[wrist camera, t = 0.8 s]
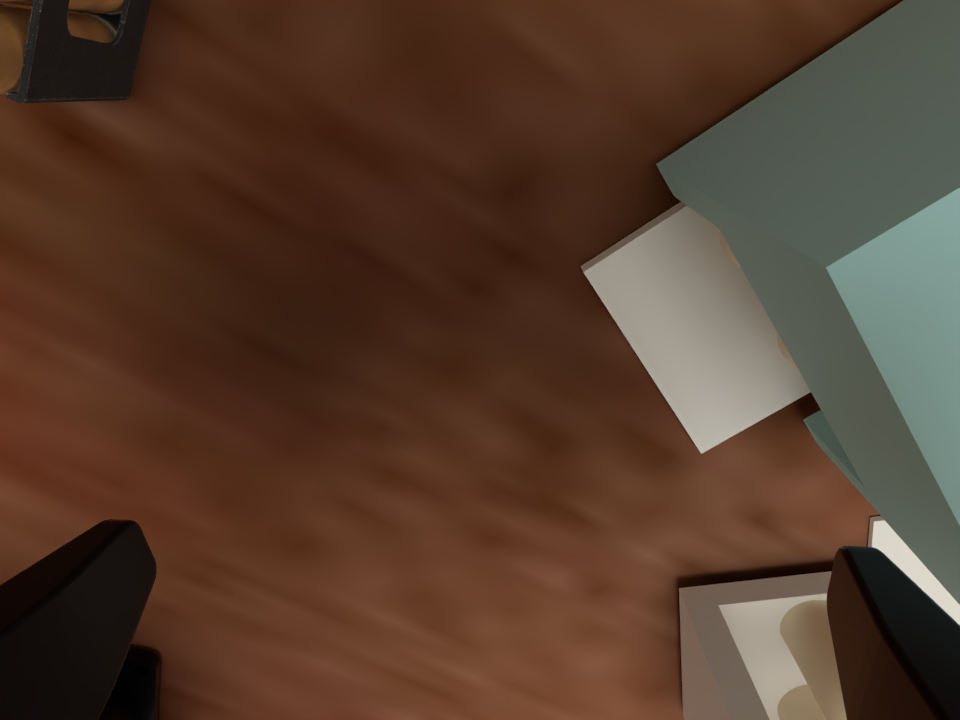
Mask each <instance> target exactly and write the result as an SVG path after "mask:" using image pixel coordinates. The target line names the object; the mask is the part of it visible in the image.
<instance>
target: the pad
mask: <svg viewBox="0 0 960 720" xmlns="http://www.w3.org/2000/svg"><path fill="white" fill-rule="evenodd" d="M868 547H874V548H877V549H878V550H880V551H881V552H883V553H884V554H885V555H886V556H887V557H888V558H889V559H890V560H891V561H892V562H893V563H894V564H896V565H897V566H898V567H899V568H900V569H901V570H902V571H903V572H904V573H905V574H906V575H907V576H908V577H909V578H910V579H911V580H912V581H914V582H915V583H916V584H917V585H918V586H919V587H920V588H921V589H922V590H923V591H924V592H925V593H926V594H927V595H928V596H929V597H930V598H932V599H933V600H934V601H935V602H936V603H937V604H938V605H939V606H940V607H941V608H942V609H943V610H944V611H945V612H946V613H947V614H948V615H950V616H951V617H952V618H953V619H954V620H955V621H956V622H957V623H958V624H959V625H960V605H959V604H958V602H957V601H956V600H955V599H954V598H953V597H952V596H951V595H950V593H949V592H948V591H947V590H946V589H945V588H944V587H943V586H942V584H941V583H940V582H939V581H938V580H937V579H936V578H935V577H934V575H933V574H932V573H931V572H930V571H929V570H928V569H927V568H926V566H925V565H924V564H923V563H922V562H921V561H920V560H919V558H918V557H917V556H916V555H915V554H914V553H913V552H912V551H911V549H910V548H909V547H908V546H907V545H906V544H905V543H904V542H903V540H902V539H901V538H900V537H899V536H898V535H897V534H896V533H895V531H894V530H893V529H892V528H891V527H890V526H889V525H888V524H887V522H886V521H885V520H884V519H883V518H882V517H881V516H876V517H870V524H869V536H868Z"/></svg>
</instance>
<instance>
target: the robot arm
mask: <svg viewBox="0 0 960 720" xmlns="http://www.w3.org/2000/svg"><path fill="white" fill-rule="evenodd" d="M155 577H156V561H155V559H154V556H153V554H152V552H151V550H150V548H149V545H148V543H147V541H146V539H145V536H144V534H143V532H142V530H141V528H140V526H139V525H138V524H137V523H136V522H135V521H132V520H112V519H110V520H105V521H102V522H100V523H98V524H97V525H95V526H94V527H92V528H91V529H89V530H87V531H86V532H84V533H83V534H81V535H79V536H78V537H76V538H75V539H73V540H71V541H70V542H68V543H67V544H65V545H64V546H62V547H60V548H59V549H57V550H56V551H54V552H52V553H51V554H49V555H48V556H46V557H44V558H43V559H41V560H40V561H38V562H37V563H35V564H33V565H32V566H30V567H29V568H27V569H25V570H24V571H22V572H21V573H19V574H17V575H16V576H14V577H13V578H11V579H10V580H8V581H6V582H5V583H3V584H2V585H0V720H158V716H159V688H160V660H159V658H158V657H157V655H155V654H154V653H152V652H149V651H144V650H137V649H129V647H130V645H131V642H132V640H133V637H134V634H135V632H136V629H137V626H138V624H139V621H140V618H141V616H142V613H143V610H144V608H145V605H146V602H147V600H148V597H149V595H150V592H151V589H152V587H153V584H154V581H155ZM827 614H828V620H829V625H830V631H831V636H832V641H833V647H834V652H835V658H836V663H837V669H838V674H839V680H840V685H841V690H842V696H843V701H844V707H845V712H846V718H847V720H960V625H959V624H958V623H957V622H956V621H955V620H954V619H953V618H952V617H951V616H950V615H948V614H947V613H946V612H945V611H944V610H943V609H942V608H941V607H940V606H939V605H938V604H937V603H936V602H935V601H934V600H933V599H932V598H930V597H929V596H928V595H927V594H926V593H925V592H924V591H923V590H922V589H921V588H920V587H919V586H918V585H917V584H916V583H915V582H914V581H912V580H911V579H910V578H909V577H908V576H907V575H906V574H905V573H904V572H903V571H902V570H901V569H900V568H899V567H898V566H897V565H896V564H894V563H893V562H892V561H891V560H890V559H889V558H888V557H887V556H886V555H885V554H884V553H883V552H881V551H880V550H878V549H877V548H874V547H856V546H843V547H841V548H839V549H838V551H837V552H836V555H835V559H834V564H833V568H832V573H831V577H830V582H829V587H828V591H827ZM142 665H144V666H146V667H144V666H142Z"/></svg>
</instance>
